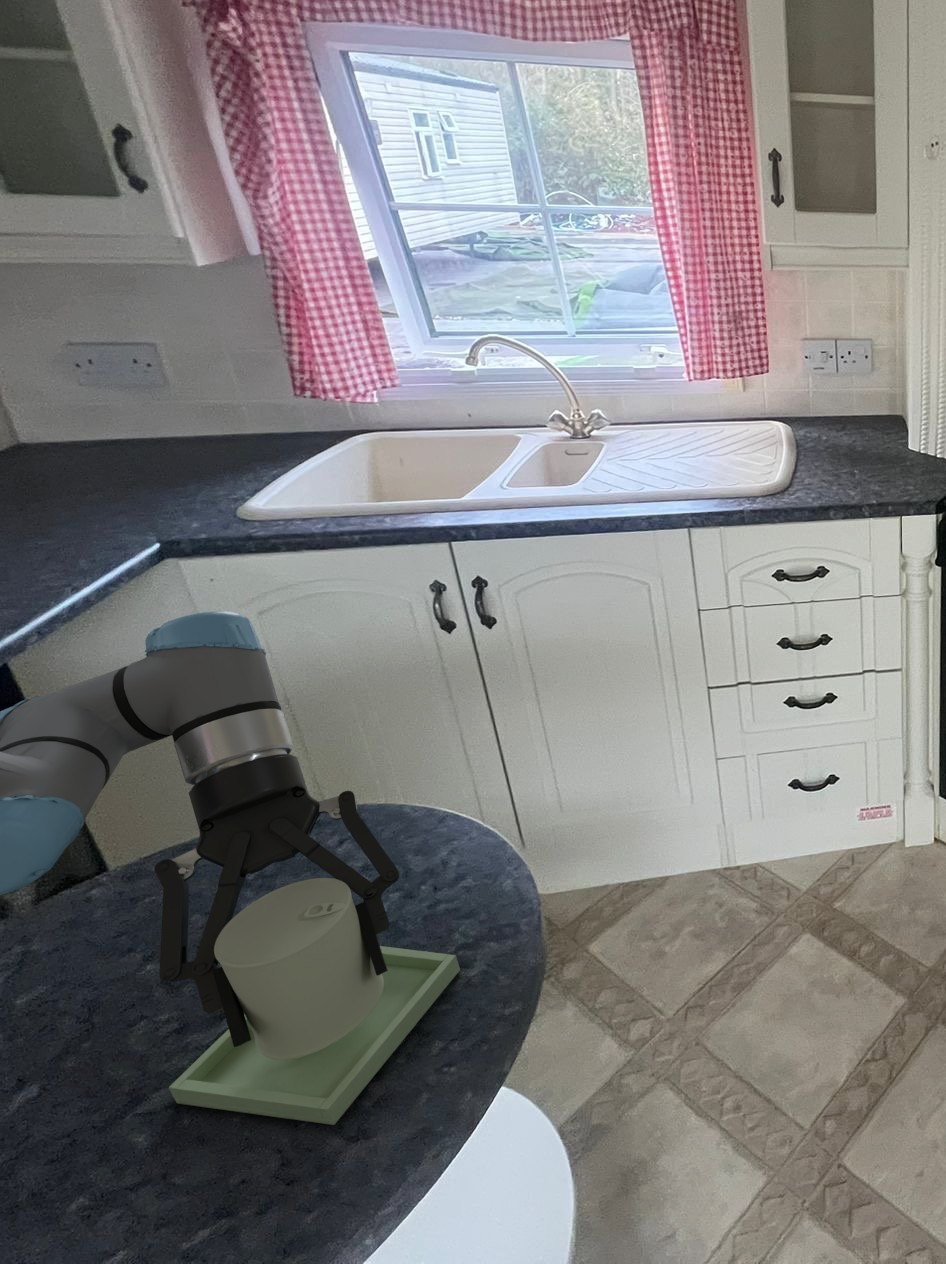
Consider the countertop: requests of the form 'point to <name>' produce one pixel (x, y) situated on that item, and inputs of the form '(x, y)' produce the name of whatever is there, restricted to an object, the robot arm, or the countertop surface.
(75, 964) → the countertop surface
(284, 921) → the can
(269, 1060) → the tray
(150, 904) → the countertop surface
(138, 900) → the countertop surface
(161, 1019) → the countertop surface
